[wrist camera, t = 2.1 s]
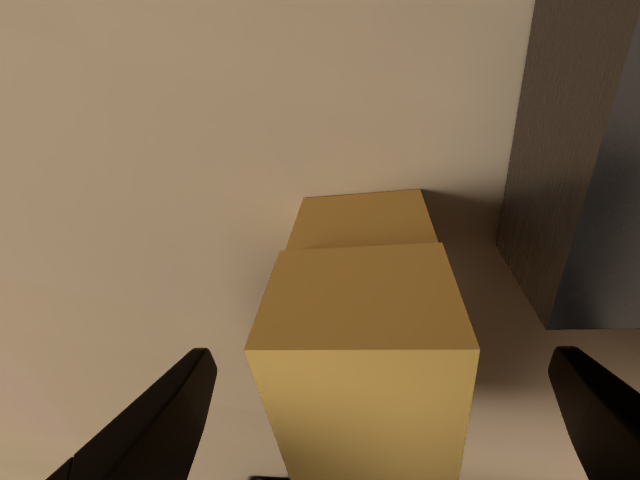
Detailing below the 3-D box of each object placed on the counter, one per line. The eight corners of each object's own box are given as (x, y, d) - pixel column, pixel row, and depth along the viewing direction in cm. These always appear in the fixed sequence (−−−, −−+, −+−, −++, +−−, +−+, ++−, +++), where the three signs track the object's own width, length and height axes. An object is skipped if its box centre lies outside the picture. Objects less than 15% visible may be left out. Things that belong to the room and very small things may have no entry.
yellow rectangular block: (415, 384, 13) (443, 575, 8) (335, 383, 13) (320, 563, 9) (420, 181, 8) (480, 349, 4) (302, 191, 9) (243, 350, 5)
